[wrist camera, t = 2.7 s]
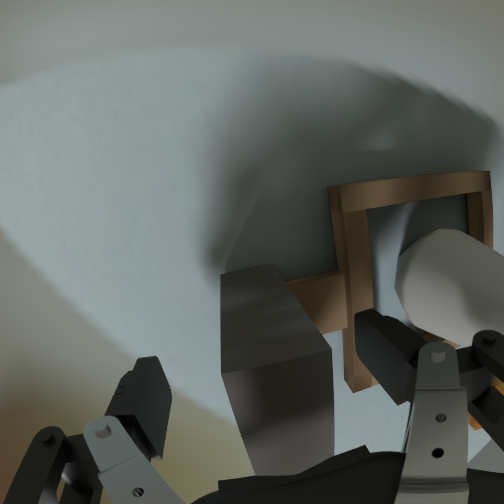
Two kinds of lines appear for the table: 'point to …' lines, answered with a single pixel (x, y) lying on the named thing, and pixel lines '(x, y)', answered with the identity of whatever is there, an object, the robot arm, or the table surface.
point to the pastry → (471, 421)
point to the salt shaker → (452, 285)
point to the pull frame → (316, 325)
